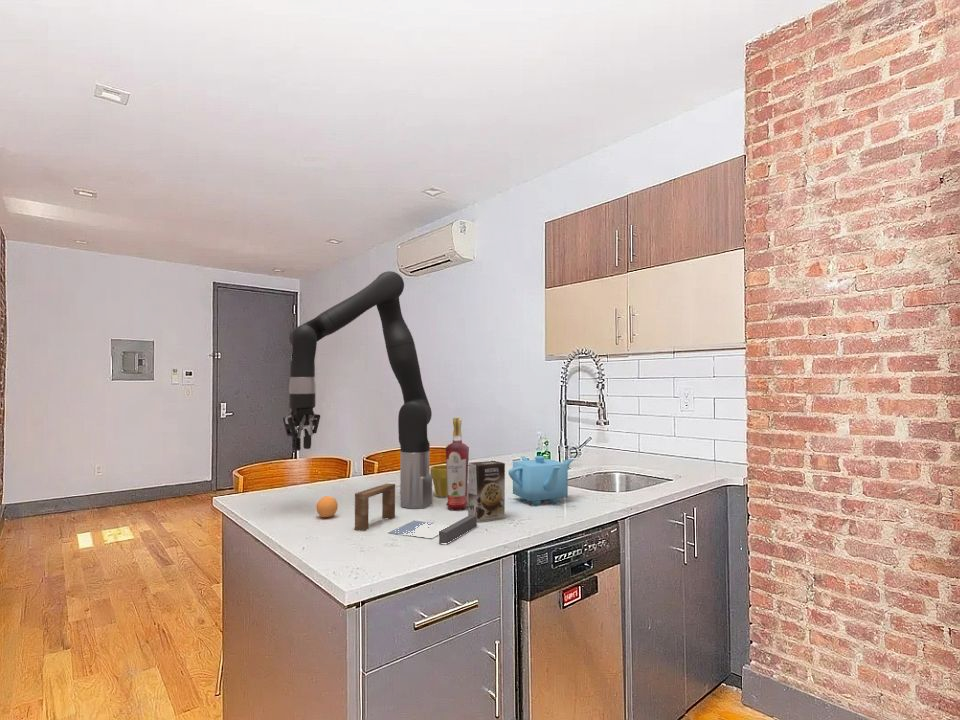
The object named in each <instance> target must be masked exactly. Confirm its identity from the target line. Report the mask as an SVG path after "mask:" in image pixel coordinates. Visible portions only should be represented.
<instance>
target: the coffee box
mask: <svg viewBox="0 0 960 720" xmlns="http://www.w3.org/2000/svg"><path fill="white" fill-rule="evenodd" d="M468 465H469V490H468V505H467V507H468V508H467V516H469V515H477V523H482V521H483V522H489V521H498V520H505V519H506V518H505V514H506V513H505V512H506V511H505V509H506V507H505V505H506V504H505V503H506V497H505V496H506V494H505V493H506V491H505V490H506V488H505V487H506V463H505V462H501V461H496V460H491V461H489V460H488V461H487V460H486V461H476V462H475V461H474V462H468Z"/></svg>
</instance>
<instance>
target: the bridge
mask: <svg viewBox="0 0 960 720" xmlns="http://www.w3.org/2000/svg"><path fill="white" fill-rule="evenodd" d="M380 494H381V495H382V497H381V498H382V501H381V503H382V505H381V508H382V512H381V513H382V515H381V517H382V519H384V518H388V519H387V520H393V519H395V518H396V510H395V509H396V483H384V484H380V485H377V486H373V487H370V488H369V489H365V490H362V491H359V492H355V493H354V530H355V531H359V530H360V531H361V532H365V531H368V530H369V512H370V511H369V504H370V503H369V501H370V500H369V498H371V497H374V496H378V495H380ZM394 517H395V518H394ZM392 518H393V519H392ZM367 529H368V530H367Z"/></svg>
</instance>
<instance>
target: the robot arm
mask: <svg viewBox="0 0 960 720" xmlns="http://www.w3.org/2000/svg"><path fill="white" fill-rule="evenodd" d="M404 289H405V282H404V279H403V276H401V275H400V274H399V273H397V272H396V271H391V270H390V271H389V270H388V271H384V272H381V274H379V275H378V276H377V277H376V278H375V279H373V281H371V283H369V284H368V285H367V286H365V287H364V288H362V289H361V290H359V291H358V292H356V293H355V294H353V295H351V296H349V297H348V298H346V299H344V300H343V301H341V302H339V303H336V304H335V305H333V306H332V307H330V308H328V309H326V310H325V311H322V312H321V313H319V314H318V315H317V316H316V317H314V318H312V319H310V320H308V321H305V322H304V323H302V324H300V325H298V326H296V327H294V328H293V329H292V331H290V334H289V338H288V339H289V342H290V344H291V346H292V358H291V360H290V374H289V375H290V379H289V386H288V387H289V391H288V393H289V396H288V397H289V399H288V405H289V406H288V407H289V408H290V409H291V410H290V414H289V415H288V416H284V417H282V420H283V424H284V428H285V432H286V436H287V437H291V439H292V450H293V451H296V452H298V451H299V452H300V451H301V449H302V448H303V449H305V450H310V449H311V446H312V436H313V435H315V434H317V431H318V427H319V424H320V419H321V414H319V413H315V411H314V408H315V407H316V394H317V393H316V391H317V390H316V388H317V387H316V379H315V378H316V372H315V371H316V368H315V366H316V362H315V360H316V353H317V352H316V351H317V342H319V341H320V340H322V339H324V338H325V337H327V336H330V335H332V334H334V333H336V332H337V331H339V330H341V329H342V328H344V327H346V326H347V325H349V324H351V323H352V322H353V321H355V320H356V319H357V318H359V317H360V316H361V315H363V314H364V313H365V312H367V311H368V310H370V309H372V308H373V307H376V308H377V309H376V310H377V312H378V315H379V318H380V322H381V327H382V332H383V333H382V335H383V338H384V344H385V349H386V353H387V358H388V362H389V364H390V368H391V370H392V373H393V375H394V376H395V378H396V380H397V383H398V384H399V387H400V389H401V393H402V398H403V404H402V405H401V407H400V409H399V411H398V418H397V420H398V422H397V425H398V426H397V428H398V442H399V445H400V465H399V466H400V468H399V469H400V479H399V481H400V482H399V484H400V489H399V491H400V493H399V494H400V496H399V497H400V499H399V501H400V504H399V505H400V507H402V508H406V509H425V508H427V507H429V506H431V505H433V479H432V475H431V474H430V468H431V466H430V463H431V462H430V459H431V458H430V456H431V455H430V451H431V449H430V447H431V445H430V441H429V438H428V425H429V423H430V422H431V420H432V408H431V405H430V403H429V400H428V397H427V394H426V391H425V387H424V384H423V379H422V375H421V374H422V373H421V368H420V363H419V358H418V353H417V349H416V343H415V340H414V336H413V334H412V332H411V331H410V329H409V327H408V325H407V323H406V321H405V320H404V317H403V314H402V307H401V303H400V296H401V295H402V294H403V292H404ZM302 432H303V443H302V441H301V439H302V438H301V434H302ZM301 443H302V444H303V447H302V448H301Z"/></svg>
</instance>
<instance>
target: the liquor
mask: <svg viewBox="0 0 960 720" xmlns="http://www.w3.org/2000/svg"><path fill="white" fill-rule="evenodd" d="M462 420H463V419H462V418H461V417H453V418H452V425H453V432H452V442H451V443H450V444H447V445H446V447H445V465H446V469H447V494H448V497H447V502H446V503H445V505H446V506H447V507H448V508H449V510H451V509H453V510H452V511H460V509H462V510H464V509H465V508H466V507H468V503H467V478H468V465H469V459H470V458H469V455H470V454H469V453H470V452H469V451H470V447H469V446H468V445H467V444H466V443H463V438H462V437H463V435H462Z"/></svg>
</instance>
